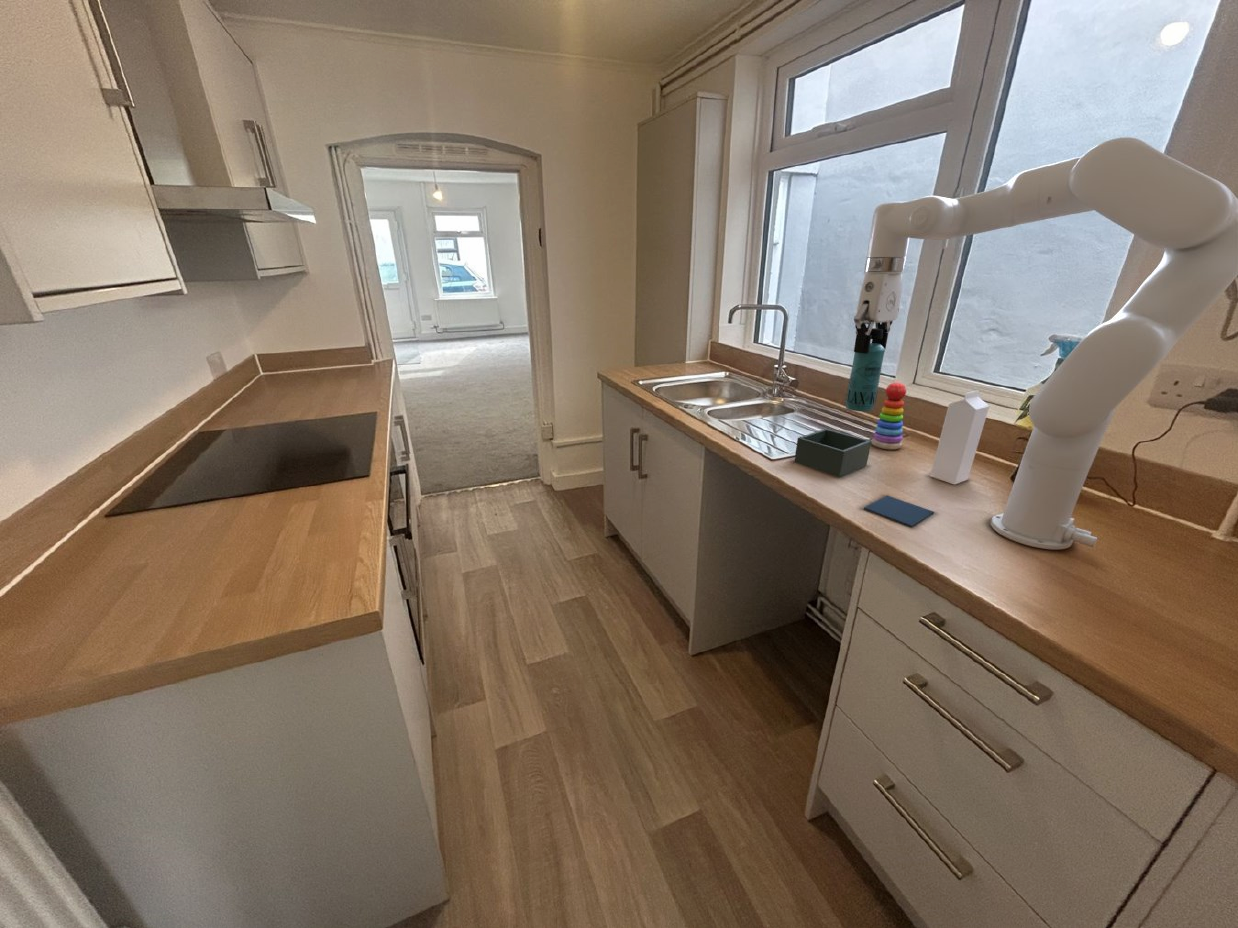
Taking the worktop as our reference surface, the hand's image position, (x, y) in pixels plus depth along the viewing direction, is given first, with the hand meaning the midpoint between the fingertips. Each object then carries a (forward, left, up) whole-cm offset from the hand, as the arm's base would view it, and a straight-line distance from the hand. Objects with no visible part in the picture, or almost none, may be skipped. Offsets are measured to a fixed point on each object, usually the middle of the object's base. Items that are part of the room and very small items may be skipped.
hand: (869, 350), depth 110 cm
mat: (-17, +10, -31) cm, 37 cm away
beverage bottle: (0, 0, -15) cm, 15 cm away
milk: (-16, -18, -31) cm, 40 cm away
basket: (+7, -3, -31) cm, 32 cm away
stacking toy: (+5, -29, -31) cm, 43 cm away
